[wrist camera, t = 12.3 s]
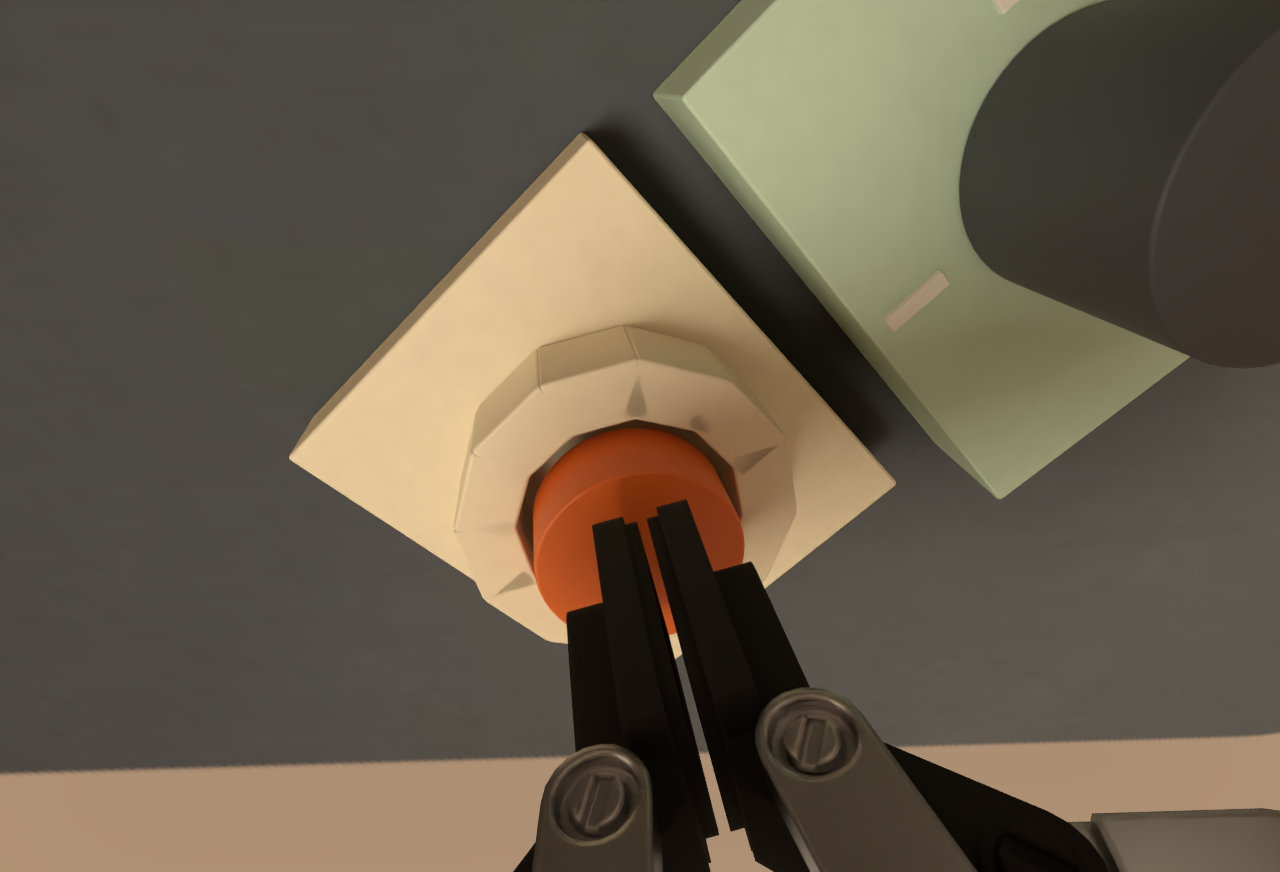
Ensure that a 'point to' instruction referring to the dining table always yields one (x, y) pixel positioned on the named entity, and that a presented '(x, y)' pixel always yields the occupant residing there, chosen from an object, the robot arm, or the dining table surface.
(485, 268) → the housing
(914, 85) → the panel
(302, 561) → the dining table surface
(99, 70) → the dining table surface
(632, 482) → the button
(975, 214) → the program dial
